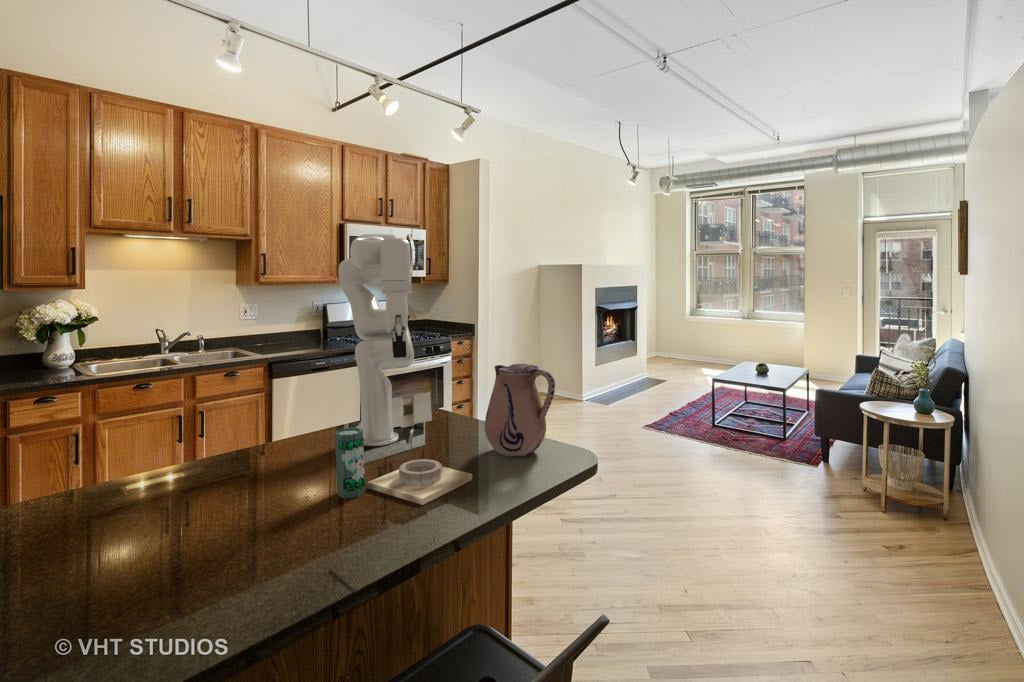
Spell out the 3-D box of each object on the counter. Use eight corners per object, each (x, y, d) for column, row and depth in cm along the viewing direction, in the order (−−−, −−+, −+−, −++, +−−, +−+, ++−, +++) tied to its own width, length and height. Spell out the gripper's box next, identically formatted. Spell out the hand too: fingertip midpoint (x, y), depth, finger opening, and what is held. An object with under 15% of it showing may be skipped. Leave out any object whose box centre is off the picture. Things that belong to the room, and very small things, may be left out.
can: (351, 500, 127) (348, 436, 125) (332, 494, 130) (329, 433, 128) (370, 490, 132) (367, 429, 131) (352, 486, 135) (349, 426, 134)
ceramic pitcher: (499, 440, 171) (498, 360, 168) (565, 447, 163) (565, 364, 160) (474, 458, 155) (473, 369, 152) (546, 467, 147) (546, 374, 144)
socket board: (367, 488, 134) (366, 470, 133) (419, 466, 149) (419, 450, 148) (422, 505, 124) (422, 485, 123) (472, 479, 139) (472, 462, 138)
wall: (437, 433, 192) (435, 399, 202) (433, 420, 185) (430, 384, 195) (390, 442, 191) (390, 407, 201) (384, 429, 185) (383, 393, 195)
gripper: (381, 288, 148) (384, 352, 150) (381, 288, 131) (384, 360, 133) (410, 287, 150) (412, 350, 151) (413, 287, 133) (416, 358, 134)
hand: (399, 355), depth 142 cm, fingers open, 9 cm apart
